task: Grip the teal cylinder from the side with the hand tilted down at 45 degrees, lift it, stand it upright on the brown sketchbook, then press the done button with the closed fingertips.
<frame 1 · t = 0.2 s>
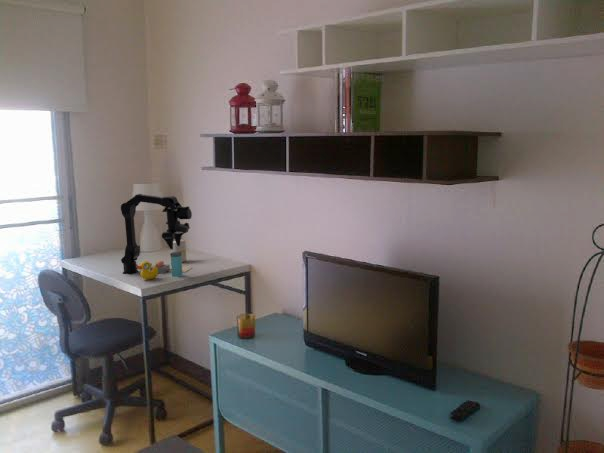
hand: (175, 247, 302), 15 cm above the table, tool pointing down, fingers open, 9 cm apart
duckling: (148, 279, 294), on the table
sketchbook: (179, 269, 313), on the table
teal cylinder: (177, 275, 300), on the table
supplement box: (179, 262, 332), on the table
button housing: (160, 271, 311), on the table
done button: (159, 264, 311), point 4 cm above the table, slide at 0.0 cm
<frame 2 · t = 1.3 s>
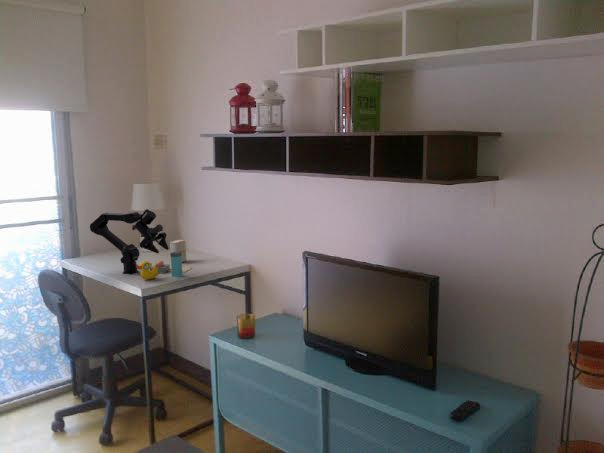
hand: (163, 251, 300), 13 cm above the table, tool tilted 45°, fingers open, 9 cm apart
nothing on the table moved.
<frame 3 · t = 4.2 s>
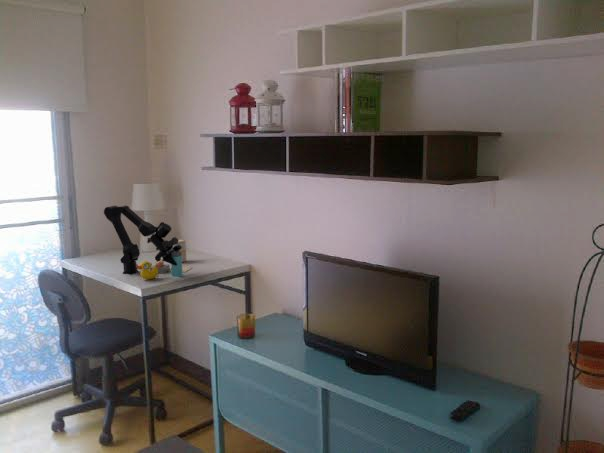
hand: (178, 264, 298), 7 cm above the table, tool tilted 45°, fingers closed on teal cylinder, 4 cm apart
teal cylinder: (177, 275, 300), on the table, touching gripper
everything else where it was.
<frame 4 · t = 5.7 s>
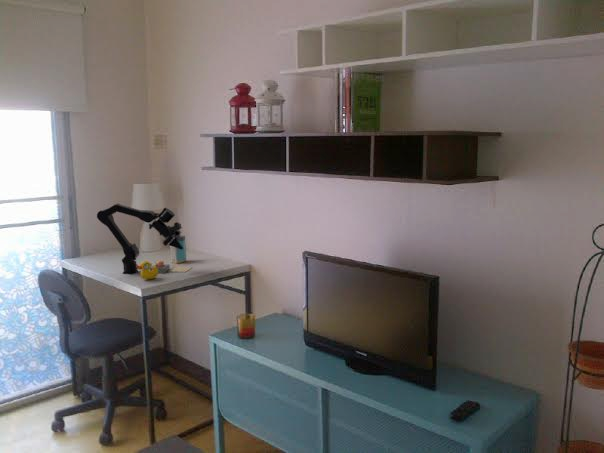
hand: (183, 248, 307), 13 cm above the table, tool tilted 45°, fingers closed on teal cylinder, 4 cm apart
teal cylinder: (181, 259, 308), point 7 cm above the table, touching gripper
everything else where it was.
when the fingers open (8 cm above the table, at t = 7.6 s): teal cylinder stays where it is, resting on sketchbook.
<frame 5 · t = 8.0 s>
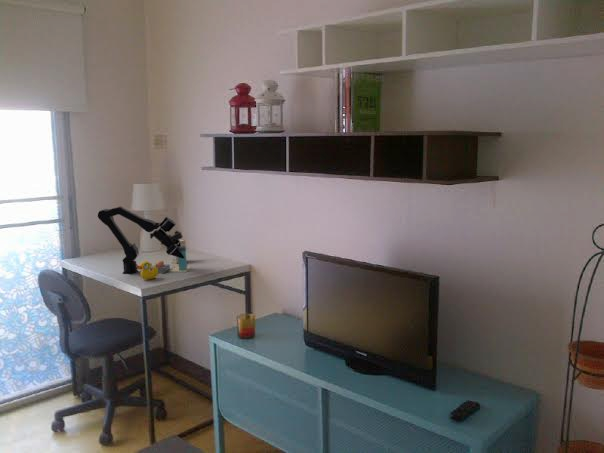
hand: (184, 256, 312), 8 cm above the table, tool tilted 45°, fingers open, 8 cm apart
teal cylinder: (183, 269, 313), resting on sketchbook
everything else where it was.
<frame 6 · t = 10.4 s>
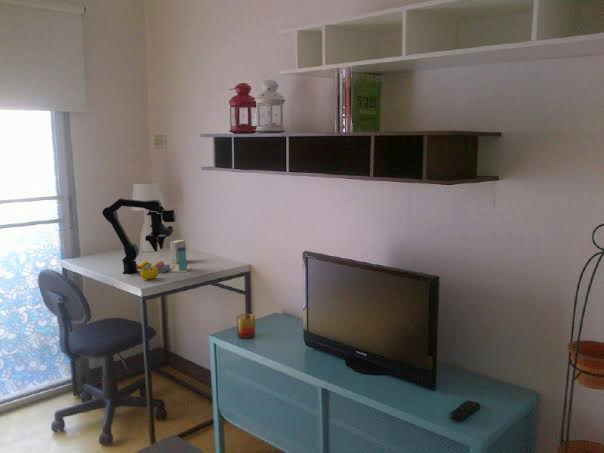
hand: (158, 250, 309), 12 cm above the table, tool pointing down, fingers open, 7 cm apart
nothing on the table moved.
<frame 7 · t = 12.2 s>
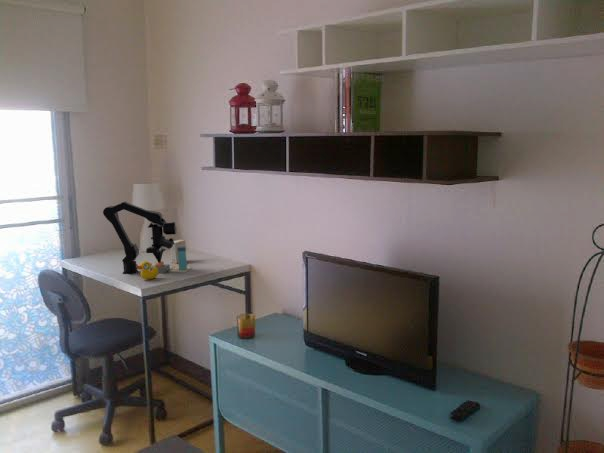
hand: (159, 262, 310), 5 cm above the table, tool pointing down, fingers closed, pressing on done button
done button: (159, 265, 311), point 4 cm above the table, slide at 0.3 cm, touching gripper
everything else where it was.
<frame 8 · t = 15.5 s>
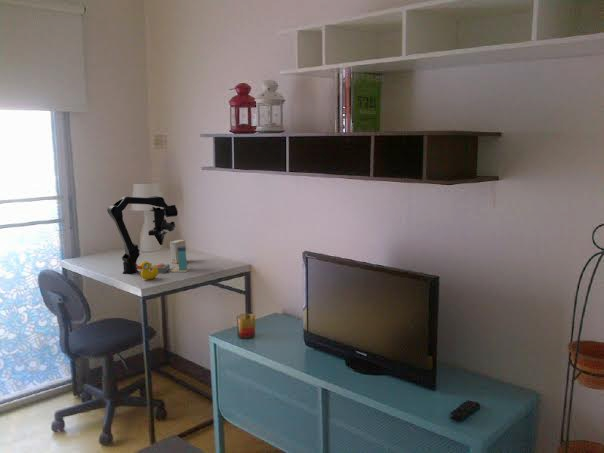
hand: (161, 244, 319), 13 cm above the table, tool pointing down, fingers closed
done button: (159, 267, 311), point 2 cm above the table, slide at 1.5 cm
everything else where it was.
at the end: teal cylinder inside the target area (1.5 cm from its centre), resting on sketchbook; teal cylinder tilted 0°; done button slide at 1.5 cm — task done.
